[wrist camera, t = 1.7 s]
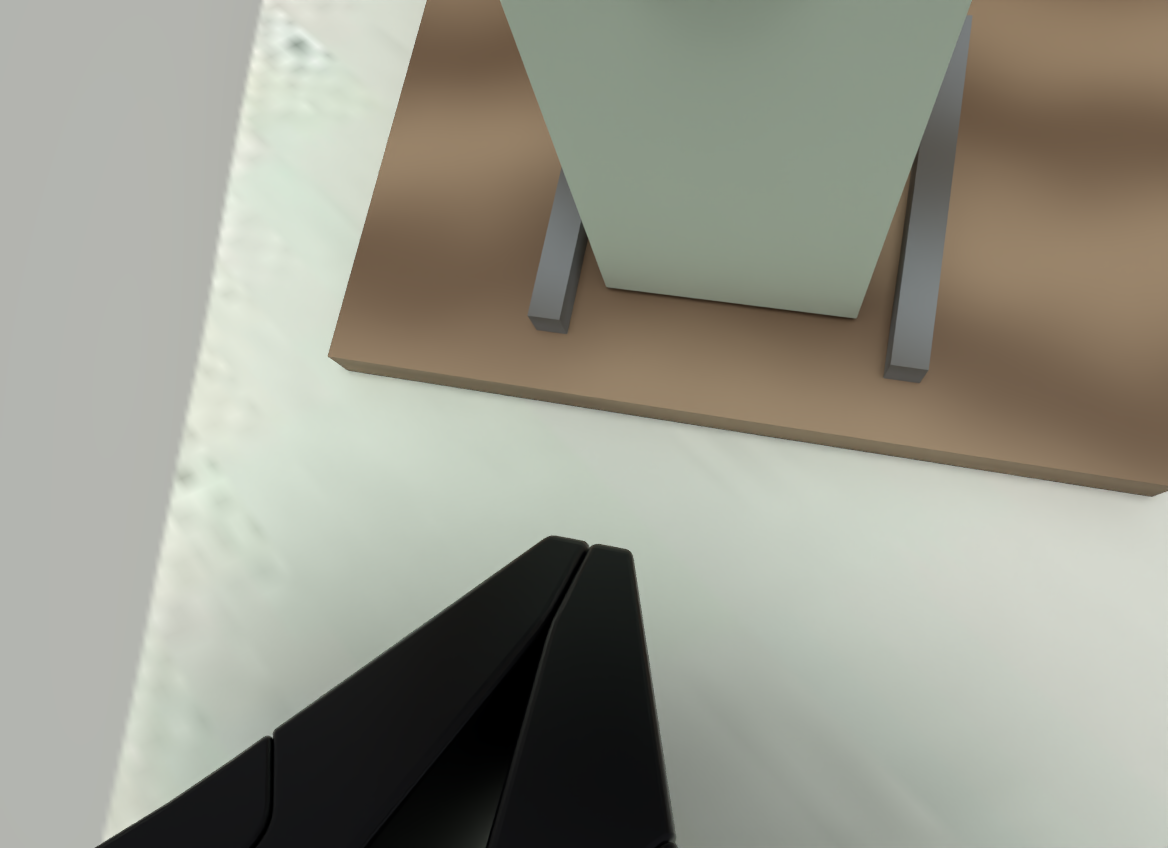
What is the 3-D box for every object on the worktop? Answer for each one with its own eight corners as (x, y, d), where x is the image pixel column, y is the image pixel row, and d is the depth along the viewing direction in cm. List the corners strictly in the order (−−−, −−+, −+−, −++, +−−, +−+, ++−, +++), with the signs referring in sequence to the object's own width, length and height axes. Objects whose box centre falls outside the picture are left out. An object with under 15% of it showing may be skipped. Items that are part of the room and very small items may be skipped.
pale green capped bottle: (853, 336, 20) (1044, -170, 8) (602, 304, 21) (411, -175, 9) (878, 166, 21) (1083, -535, 8) (636, 144, 22) (506, -492, 10)
